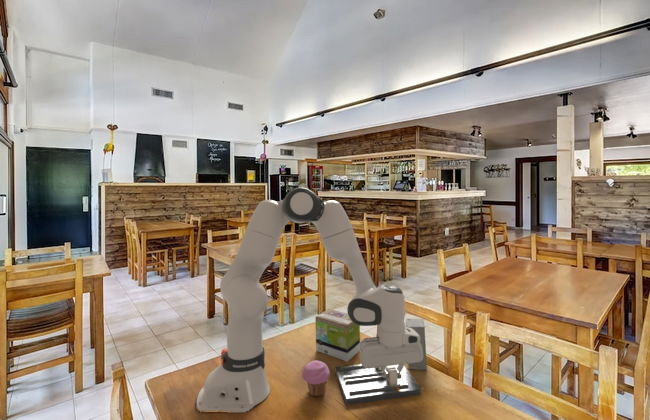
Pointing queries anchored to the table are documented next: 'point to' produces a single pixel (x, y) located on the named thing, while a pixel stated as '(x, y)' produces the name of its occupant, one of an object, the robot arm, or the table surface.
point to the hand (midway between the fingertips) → (391, 376)
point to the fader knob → (392, 375)
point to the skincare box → (420, 329)
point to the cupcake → (316, 377)
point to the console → (373, 384)
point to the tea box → (337, 335)
